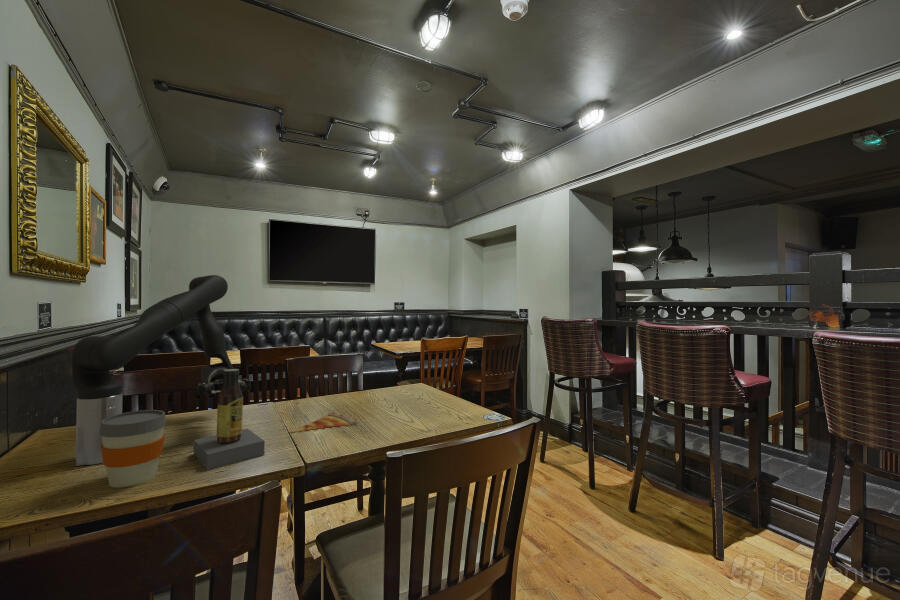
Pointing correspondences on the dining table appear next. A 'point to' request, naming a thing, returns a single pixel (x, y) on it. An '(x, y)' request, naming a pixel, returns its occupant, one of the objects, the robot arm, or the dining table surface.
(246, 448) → the charcoal base
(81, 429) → the robot arm
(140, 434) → the reusable coffee cup
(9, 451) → the dining table surface
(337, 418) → the pizza slice
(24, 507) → the dining table surface
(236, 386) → the sauce bottle
